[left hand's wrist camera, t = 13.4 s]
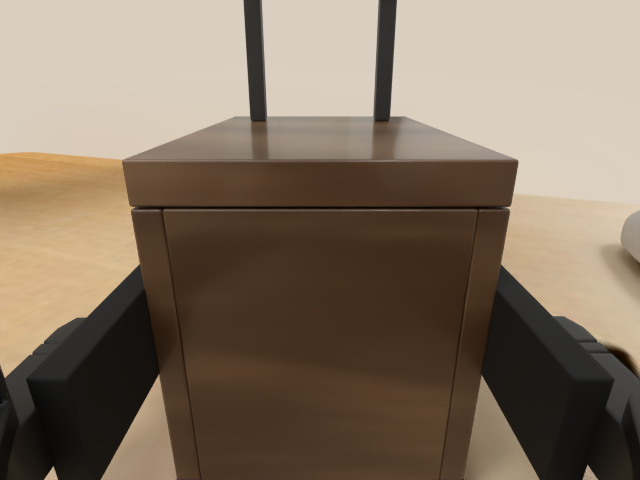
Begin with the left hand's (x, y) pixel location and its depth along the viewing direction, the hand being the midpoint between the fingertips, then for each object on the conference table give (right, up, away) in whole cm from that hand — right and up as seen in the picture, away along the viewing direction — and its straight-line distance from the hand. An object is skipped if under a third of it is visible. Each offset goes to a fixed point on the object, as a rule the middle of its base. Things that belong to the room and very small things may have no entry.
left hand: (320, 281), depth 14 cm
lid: (0, +5, +2) cm, 5 cm away
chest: (0, -5, +5) cm, 7 cm away
